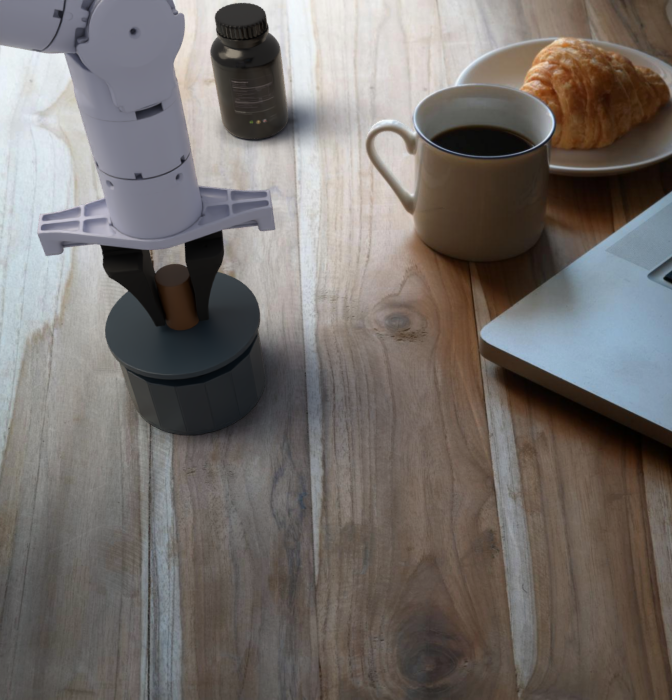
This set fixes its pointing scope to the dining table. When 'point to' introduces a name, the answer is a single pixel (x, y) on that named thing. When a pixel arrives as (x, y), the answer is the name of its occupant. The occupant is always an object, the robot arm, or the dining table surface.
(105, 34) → the robot arm
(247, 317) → the lid
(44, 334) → the dining table surface
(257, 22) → the supplement bottle
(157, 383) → the pot
